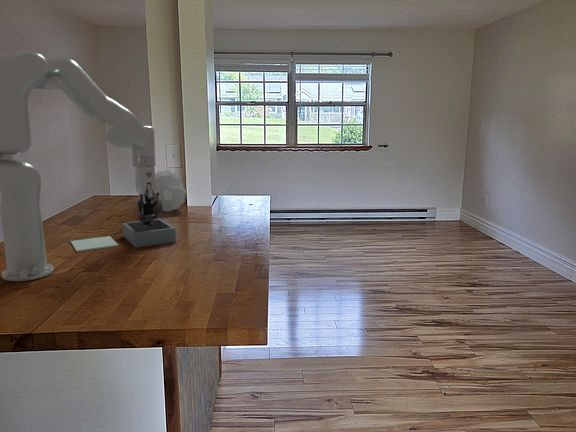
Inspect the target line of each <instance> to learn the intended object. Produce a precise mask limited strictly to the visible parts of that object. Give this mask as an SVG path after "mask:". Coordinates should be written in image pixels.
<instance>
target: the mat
mask: <svg viewBox="0 0 576 432" xmlns="http://www.w3.org/2000/svg"><path fill="white" fill-rule="evenodd" d="M70 243H71V245H72V247H73V248H74V250H75V251H76V253H78V252H85V251H94V250H101V249H107V248H114V247H118V246H119V244H118V243H117V242H116V241H115V239H114V238H113V237H112V236H110V235H108V236H99V237H92V238H84V239H76V240H70Z"/></svg>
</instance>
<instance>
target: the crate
mask: <svg viewBox="0 0 576 432" xmlns="http://www.w3.org/2000/svg"><path fill="white" fill-rule="evenodd" d="M141 223H143V222H141V221H140V220H139V221H138V220H137V221H130V222H129V221H128V222H122V235H123V237H124V238H125V240H127V241H128V242H129V243H130V244H131V245H132V246H133V247H134V248H135V249H136V248H142V247H143V248H144V247H150V246H156V245H162V244H163V245H164V244H170V243H176V242H177V235H176V227H174V226H173V225H171V224H169V223H168V222H167V221H165V220H163V219H162V218H158V219H154V220H153V221H152V222H150V223H153V224H154V226H149V227H141V226H139V224H141Z"/></svg>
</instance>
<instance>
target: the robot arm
mask: <svg viewBox="0 0 576 432" xmlns="http://www.w3.org/2000/svg"><path fill="white" fill-rule="evenodd" d="M33 90H53V91H54V90H60V91H62V92H63V94H65V95H66V96H67V97H68V98H69V99H70V100H71V101H72V102H73V104H75V105H76V107H77V108H78V109H79V110H80V111H81V112H82V113H84V114H85V115H86V116H88V117H91V118H92V119H95V120H98V121H101V122H104V123H106V124H107V125H110V127H109V128H108V129H107V131H106V136H105V138H106V140H107V142H108V143H109V144H110V145H111V146H113V147H115V148H121V149H131V154H132V155H131V156H132V167H133V168H134V167H135V175H134V176H135V190H136V193H138V200H139V201H141V196H142V195H143V199H144V204H143V215H152V214H153V201H152V198H153V194H154V195H156V193H157V188H156V177H155V174H156V170H155V167H156V146H155V145H156V144H155V143H156V142H155V141H156V140H155V129H154V127H153V126H151V125H143V123H142V122H141V121H140V120H139V119H138V117H136V115H135V114H134V113H132V112H131V111H130V110H129V109H128V108H126V107H124V106H123V105H121V104H120V103H118V102H117V101H116V100H114V99H113V98H110V97H109V96H107V94H105V93H104V91H102V90H101V88H100V87H99V86H98V85H97V84H96V82H94V80H92V77H90V76H89V75H88V73H87V72H86V71H85V70H84V69H83V68H82V67H81V66H80V64H79V63H77V62H76V61H75V60H73V59H70V58H68V57H60V58H51V59H46V57H44V55H42V54H41V53H38V52H35V51H29V50H28V51H27V50H25V51H23V50H22V51H16V52H11V53H10V52H9V53H4V54H1V55H0V195H1V196H0V222H1V223H0V224H1V232H2V237H3V238H2V239H3V245H4V253H5V261H6V267H7V268H6V269H5V270H3V271H2V272H1V278H2V280H4V281H8V282H25V281H34V280H38V279H41V278H44V277H47V276H48V275H51V274H52V273H53V272H54V265H52V264H51V263H48V261H47V255H46V246H45V235H44V227H43V226H44V225H43V219H42V211H41V189H42V178H41V174H40V172H39V171H38V169H37V168H36V167H35V165H32V164H31V163H29V162H27V161H23V160H20V159H19V160H17V159H14V158H15V156H17V155H23V154H25V153H26V152H28V150H30V148H31V145H32V131H31V121H30V113H29V100H30V96H31V94H32V92H33ZM145 194H147V195H145ZM141 204H142V201H141V202H139V210H140V213H141V212H142V206H141ZM140 213H139V214H140Z"/></svg>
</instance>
